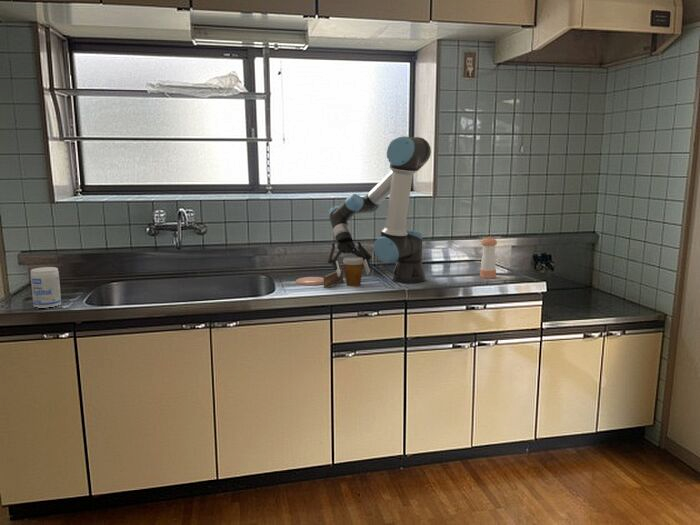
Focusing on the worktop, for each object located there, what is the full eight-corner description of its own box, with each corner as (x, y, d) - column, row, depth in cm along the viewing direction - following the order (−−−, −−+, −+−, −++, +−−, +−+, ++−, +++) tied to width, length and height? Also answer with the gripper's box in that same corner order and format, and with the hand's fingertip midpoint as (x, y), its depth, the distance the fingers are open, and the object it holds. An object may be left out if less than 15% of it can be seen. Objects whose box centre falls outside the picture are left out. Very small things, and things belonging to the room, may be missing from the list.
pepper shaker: (486, 279, 256) (488, 238, 253) (476, 276, 263) (478, 236, 259) (498, 277, 259) (500, 237, 255) (489, 274, 266) (490, 235, 262)
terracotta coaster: (334, 279, 256) (334, 278, 256) (318, 286, 243) (318, 285, 243) (306, 277, 263) (306, 275, 263) (289, 283, 249) (289, 282, 249)
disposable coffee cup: (364, 282, 250) (364, 256, 248) (363, 287, 241) (363, 260, 239) (344, 282, 251) (343, 256, 249) (341, 287, 242) (341, 260, 240)
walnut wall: (342, 280, 255) (342, 269, 254) (326, 287, 241) (326, 276, 240) (340, 280, 256) (339, 269, 255) (323, 287, 241) (323, 276, 240)
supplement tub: (32, 310, 208) (27, 272, 205) (35, 304, 216) (30, 267, 213) (61, 307, 212) (57, 270, 209) (62, 301, 220) (58, 265, 217)
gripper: (366, 239, 262) (377, 276, 251) (315, 242, 254) (325, 280, 243) (370, 229, 256) (382, 267, 245) (318, 232, 248) (328, 271, 237)
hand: (354, 273), depth 244 cm, fingers open, 13 cm apart
